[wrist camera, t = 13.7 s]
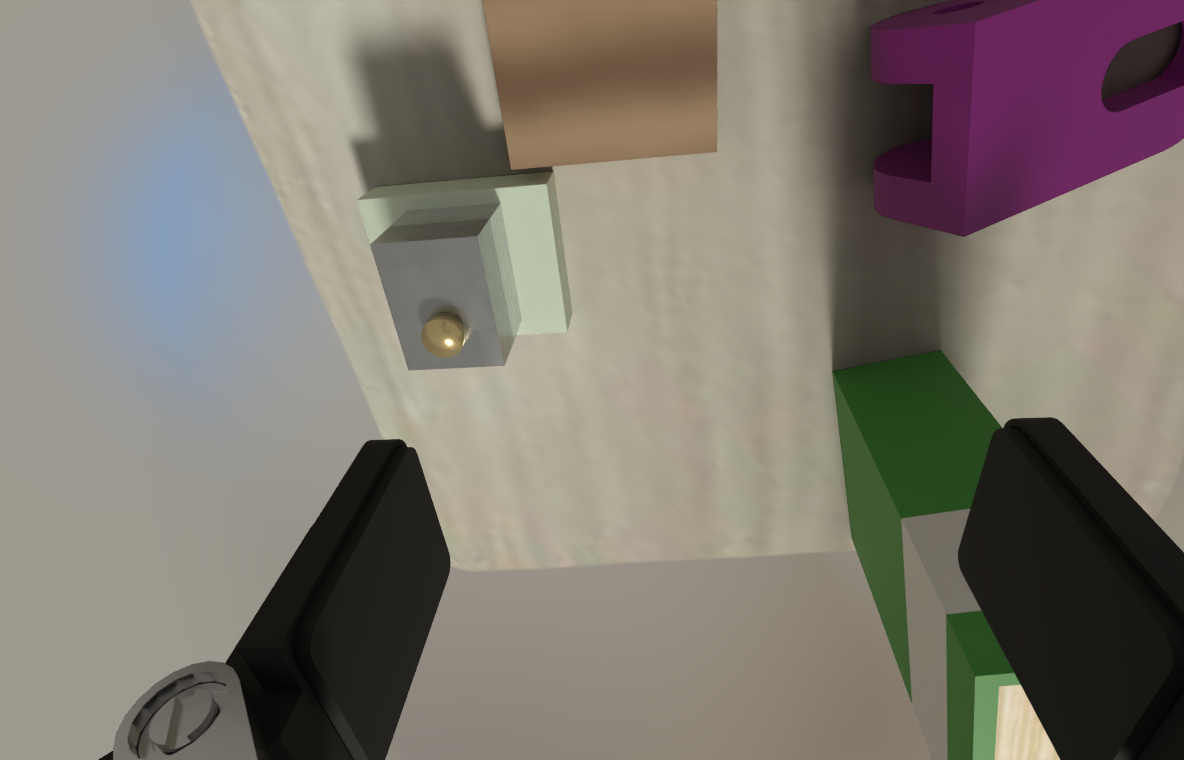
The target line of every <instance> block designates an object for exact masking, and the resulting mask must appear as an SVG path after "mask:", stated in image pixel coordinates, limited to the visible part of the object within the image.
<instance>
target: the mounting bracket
mask: <svg viewBox="0 0 1184 760" xmlns="http://www.w3.org/2000/svg"><path fill="white" fill-rule="evenodd" d="M1179 22H1182V37H1181V42H1180V45H1179V48H1178V51H1177V53H1176V55H1175V57H1174V59H1173V61H1172V62H1171V64H1170V65H1169V66H1168V68H1167V69H1166V70H1165V71H1164V72H1163V73H1162V74H1161V75H1160V76H1159V77H1157V78H1156V79H1153V80H1151V81H1149V82H1146V83H1144V84H1141V85H1139V86H1136V87H1134V88H1131V89H1129V90H1126V91H1124V92H1121V93H1119V94H1116V95H1114V96H1111V97H1109V98H1106V99H1104V100H1102V97H1101V90H1102V83H1103V79H1104V76H1105V73H1106V71H1107V68H1108V66H1109V64H1110V62H1111V61H1112V59H1113V58H1114V56H1115V55H1116V53H1117V52H1118V51H1119V50H1120V49H1121V48H1122V47H1123V46H1124V45H1125V44H1127V43H1128V42H1130V41H1132V40H1134V39H1137V38H1139V37H1142V36H1145V35H1147V34H1150V33H1153V32H1155V31H1158V30H1160V29H1163V28H1166V27H1168V26H1171V25H1173V24H1176V23H1179ZM870 38H871V79H872V80H873V81H875V82H878V83H886V84H933V123H932V138H930V139H925V140H921V141H917V142H912V143H908V144H904V145H901V146H898V147H895V148H893V149H891V150H889V151H887V152H885V153H883V154H881V155H880V156H879V157H878V158H877V159H876V160H875V161H874V163H873V176H874V208H875V210H876V211H877V212H878V213H879V214H881V215H883V216H885V217H888V218H891V219H894V220H898V221H902V222H906V223H910V224H914V225H918V226H922V227H926V228H930V229H935V230H939V231H943V232H947V233H951V234H955V235H959V236H963V237H965V236H967V235H969V234H972V233H974V232H976V231H979V230H981V229H983V228H986V227H988V226H990V225H993V224H995V223H997V222H1000V221H1002V220H1004V219H1006V218H1009V217H1011V216H1013V215H1016V214H1018V213H1020V212H1023V211H1025V210H1027V209H1030V208H1032V207H1034V206H1037V205H1039V204H1041V203H1044V202H1046V201H1048V200H1051V199H1053V198H1055V197H1058V196H1060V195H1062V194H1065V193H1067V192H1069V191H1071V190H1074V189H1076V188H1078V187H1081V186H1083V185H1085V184H1088V183H1090V182H1092V181H1095V180H1097V179H1099V178H1102V177H1104V176H1106V175H1109V174H1111V173H1113V172H1116V171H1118V170H1120V169H1123V168H1125V167H1127V166H1130V165H1132V164H1134V163H1136V162H1139V161H1141V160H1143V159H1146V158H1148V157H1150V156H1153V155H1155V154H1157V153H1160V152H1162V151H1164V150H1166V149H1168V148H1170V147H1172V146H1173V145H1175V144H1177V143H1178V142H1179V141H1181V140H1182V139H1183V138H1184V0H949V1H945V2H941V3H938V4H934V5H930V6H927V7H923V8H919V9H916V10H912V11H908V12H904V13H901V14H898V15H895V16H892V17H890V18H887V19H884V20H882V21H880V22H878V23H876V24H874V25H872V26H871V28H870Z"/></svg>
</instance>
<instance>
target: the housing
mask: <svg viewBox="0 0 1184 760" xmlns="http://www.w3.org/2000/svg"><path fill="white" fill-rule="evenodd" d="M370 246H371V249H372V252H373V255H374V259H375V262H376V265H377V269H378V272H379V275H380V278H381V282H382V285H383V288H384V291H385V295H386V298H387V301H388V305H389V308H390V311H391V314H392V318H393V321H394V324H395V328H396V331H397V334H398V337H399V341H400V344H401V347H402V351H403V354H404V357H405V360H406V364H407V367H408V370H426V369H446V368H467V367H487V366H504V365H505V363H506V360H507V358H508V355H509V353H510V350H511V347H512V345H513V342H514V340H515V337H516V335H517V332H518V329H519V327H520V324H521V322H522V317H521V311H520V306H519V300H518V295H517V289H516V284H515V278H514V273H513V267H512V262H511V257H510V251H509V246H508V240H507V235H506V229H505V224H504V218H503V213H502V207H501V203H494V204H482V205H470V206H458V207H445V208H433V209H421V210H409V211H406V212H405V213H404V214H403V215H402V216H401V217H400V218H398V219H397V220H396V221H395V222H394V223H393V224H392V225H391V226H390V227H389V228H388V229H386V230H385V231H384V232H383V233H382V234H381V235H380V236H379V237H378V238H377V239H376V240H374V241H373V242H372V243H371V244H370Z"/></svg>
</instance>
